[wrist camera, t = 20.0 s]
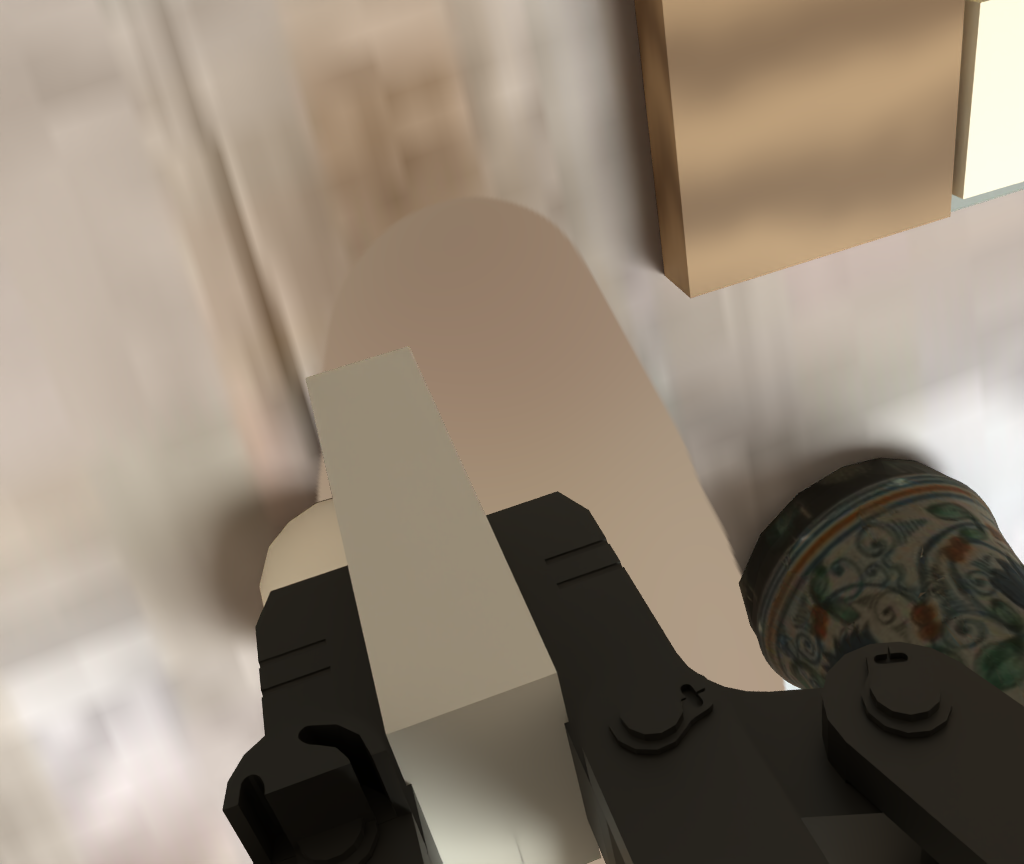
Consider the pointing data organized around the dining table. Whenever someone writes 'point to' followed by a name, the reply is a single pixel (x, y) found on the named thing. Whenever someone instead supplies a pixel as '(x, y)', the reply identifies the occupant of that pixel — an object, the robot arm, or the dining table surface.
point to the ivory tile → (990, 98)
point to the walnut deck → (795, 127)
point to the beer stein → (886, 575)
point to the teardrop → (304, 549)
